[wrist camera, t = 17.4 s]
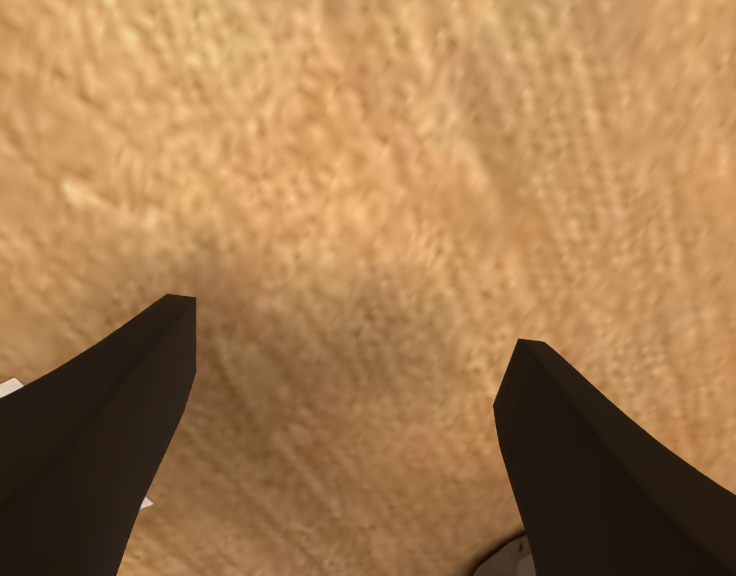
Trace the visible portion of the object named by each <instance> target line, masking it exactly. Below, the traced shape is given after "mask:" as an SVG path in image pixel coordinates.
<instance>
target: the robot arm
mask: <svg viewBox="0 0 736 576" xmlns="http://www.w3.org/2000/svg"><path fill="white" fill-rule="evenodd" d="M195 374H196V297H188V296H181V295H173V294H166V295H165V296H163V297H162V298H160V299H159V300H158V301H156V302H155V303H153V304H152V305H151V306H149V307H148V308H146V309H145V310H144V311H142V312H141V313H140V314H138V315H137V316H135V317H134V318H133V319H131V320H130V321H129V322H127V323H126V324H124V325H123V326H122V327H120V328H119V329H117V330H116V331H114V332H113V333H111V334H110V335H109V336H107V337H106V338H104V339H103V340H101V341H100V342H98V343H97V344H95V345H94V346H92V347H91V348H89V349H87V350H86V351H84V352H83V353H81V354H79V355H78V356H76V357H75V358H73V359H71V360H70V361H68V362H67V363H65V364H63V365H62V366H60V367H58V368H57V369H55V370H53V371H51V372H50V373H48V374H46V375H44V376H42V377H41V378H39V379H37V380H35V381H33V382H31V383H29V384H27V385H25V386H23V387H21V388H19V389H18V390H16V391H14V392H12V393H10V394H8V395H6V396H3V397H1V398H0V576H116V575H117V572H118V569H119V566H120V563H121V560H122V557H123V554H124V551H125V548H126V545H127V542H128V540H129V537H130V534H131V531H132V528H133V525H134V522H135V520H136V517H137V515H138V512H139V510H140V507H141V505H142V503H143V500H144V498H145V496H146V494H147V492H148V489H149V487H150V485H151V483H152V481H153V478H154V476H155V474H156V472H157V470H158V468H159V465H160V463H161V461H162V459H163V457H164V455H165V452H166V450H167V448H168V446H169V444H170V441H171V439H172V437H173V435H174V433H175V430H176V428H177V426H178V424H179V422H180V419H181V417H182V415H183V412H184V410H185V407H186V403H187V400H188V397H189V394H190V391H191V387H192V384H193V381H194V377H195ZM493 408H494V416H495V423H496V429H497V435H498V441H499V446H500V449H501V453H502V456H503V460H504V463H505V466H506V470H507V473H508V476H509V480H510V483H511V486H512V489H513V493H514V496H515V499H516V502H517V506H518V509H519V512H520V515H521V518H522V522H523V525H524V528H525V531H526V535H527V538H528V542H529V546H530V550H531V553H532V557H533V562H534V567H535V572H536V576H736V495H734V494H733V493H731V492H730V491H728V490H726V489H725V488H723V487H722V486H720V485H719V484H717V483H716V482H714V481H713V480H711V479H710V478H708V477H707V476H705V475H704V474H702V473H701V472H699V471H698V470H696V469H695V468H694V467H692V466H691V465H690V464H688V463H687V462H685V461H684V460H683V459H681V458H680V457H678V456H677V455H676V454H674V453H673V452H672V451H670V450H669V449H667V448H666V447H665V446H664V445H662V444H661V443H660V442H658V441H657V440H656V439H655V438H653V437H652V436H651V435H650V434H648V433H647V432H646V431H645V430H644V429H642V428H641V427H640V426H639V425H637V424H636V423H635V422H634V421H633V420H631V419H630V418H629V417H628V416H627V415H626V414H624V413H623V412H622V411H621V410H620V409H619V408H617V407H616V406H615V405H614V404H613V403H612V402H611V401H610V400H608V399H607V398H606V397H605V396H604V395H603V394H602V393H601V392H600V391H599V390H597V389H596V388H595V387H594V386H593V385H592V384H591V383H590V382H589V381H588V380H587V379H585V378H584V377H583V376H582V375H581V374H580V373H579V372H578V371H577V370H576V369H575V368H574V367H573V366H571V365H570V364H569V363H568V362H567V361H566V360H565V359H564V358H563V357H562V356H561V355H559V354H558V353H557V352H556V351H555V350H554V349H553V348H551V347H550V346H549V345H548V344H546V343H545V342H542V341H534V340H526V339H518V341H517V344H516V346H515V349H514V351H513V354H512V357H511V359H510V362H509V365H508V367H507V370H506V372H505V375H504V378H503V380H502V383H501V386H500V388H499V391H498V393H497V396H496V399H495V401H494V404H493Z"/></svg>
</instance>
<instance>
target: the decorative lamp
mask: <svg viewBox="0 0 736 576" xmlns="http://www.w3.org/2000/svg"><path fill="white" fill-rule="evenodd" d="M473 576H536V572H535V567H534V562H533V557H532V553H531V550H530V546H529V542H528V538H527V535H523V536H521V537H519V538H517V539H515V540H513V541H510V542H509V543H508V544H506V545H505V546H504V547H503V548H501V549H500V550H499V551H498V552H496V553H495V554H494V555H493V556H491V557H490V558H489V559H487V560H486V561H485V562H484V563H482V564H481V565H480V566H479V567H478V569H477V570H476V571H475V573H474V575H473Z"/></svg>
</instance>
